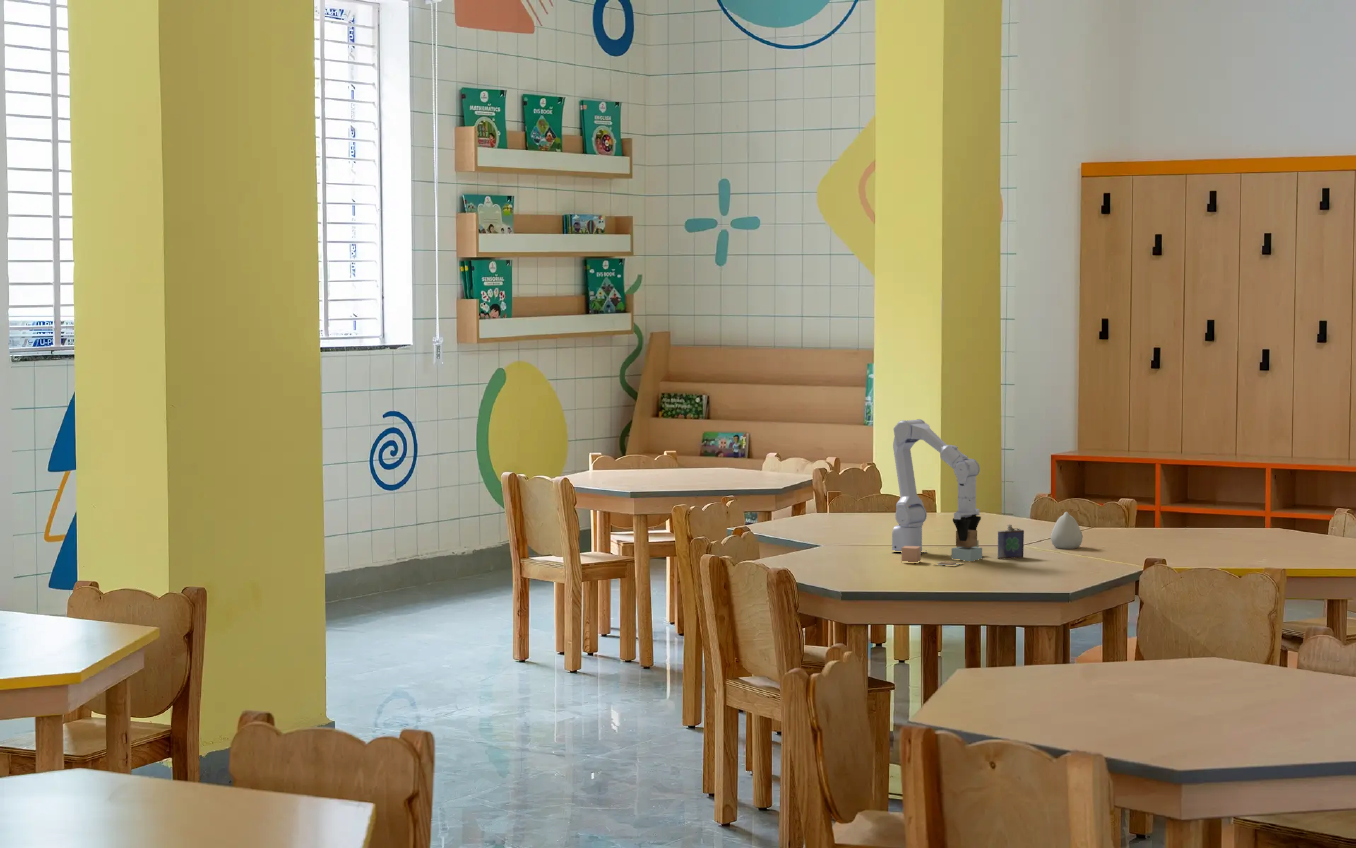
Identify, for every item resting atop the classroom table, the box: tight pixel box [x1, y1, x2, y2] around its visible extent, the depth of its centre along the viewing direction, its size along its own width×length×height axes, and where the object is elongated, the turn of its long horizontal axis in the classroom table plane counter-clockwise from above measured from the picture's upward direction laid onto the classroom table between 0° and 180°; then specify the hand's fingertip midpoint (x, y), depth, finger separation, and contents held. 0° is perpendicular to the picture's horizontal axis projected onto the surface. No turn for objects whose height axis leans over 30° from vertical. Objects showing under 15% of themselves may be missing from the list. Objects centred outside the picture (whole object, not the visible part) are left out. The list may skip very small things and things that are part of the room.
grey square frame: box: [938, 560, 960, 566], centre depth 453 cm, size 7×7×1 cm
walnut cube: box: [955, 529, 978, 548], centre depth 463 cm, size 5×5×5 cm
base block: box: [951, 546, 983, 562], centre depth 464 cm, size 7×7×4 cm
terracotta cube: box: [901, 546, 922, 562], centre depth 459 cm, size 5×5×5 cm
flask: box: [997, 524, 1025, 560], centre depth 466 cm, size 9×3×11 cm, turn 109°
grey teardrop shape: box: [1050, 511, 1084, 550], centre depth 488 cm, size 10×10×12 cm
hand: (966, 539), depth 463 cm, fingers open, 5 cm apart
